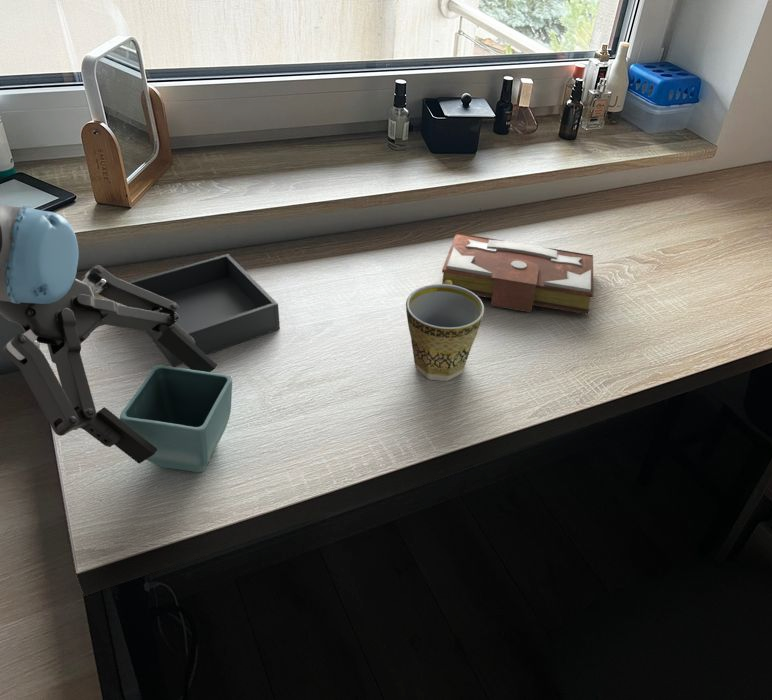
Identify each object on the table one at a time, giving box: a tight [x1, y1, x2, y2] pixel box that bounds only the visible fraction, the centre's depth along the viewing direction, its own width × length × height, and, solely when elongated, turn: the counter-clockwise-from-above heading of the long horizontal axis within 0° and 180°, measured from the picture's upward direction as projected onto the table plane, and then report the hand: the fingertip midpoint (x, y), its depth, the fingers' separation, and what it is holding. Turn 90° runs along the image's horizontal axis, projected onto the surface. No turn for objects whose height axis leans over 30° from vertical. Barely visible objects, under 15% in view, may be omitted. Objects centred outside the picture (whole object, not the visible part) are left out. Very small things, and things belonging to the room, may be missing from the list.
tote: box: [127, 253, 281, 367], centre depth 100 cm, size 15×15×4 cm
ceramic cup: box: [405, 280, 485, 382], centre depth 96 cm, size 13×10×10 cm
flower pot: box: [119, 364, 233, 473], centre depth 79 cm, size 9×9×9 cm
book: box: [441, 232, 594, 315], centre depth 114 cm, size 23×16×5 cm
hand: (181, 411), depth 78 cm, fingers open, 13 cm apart
